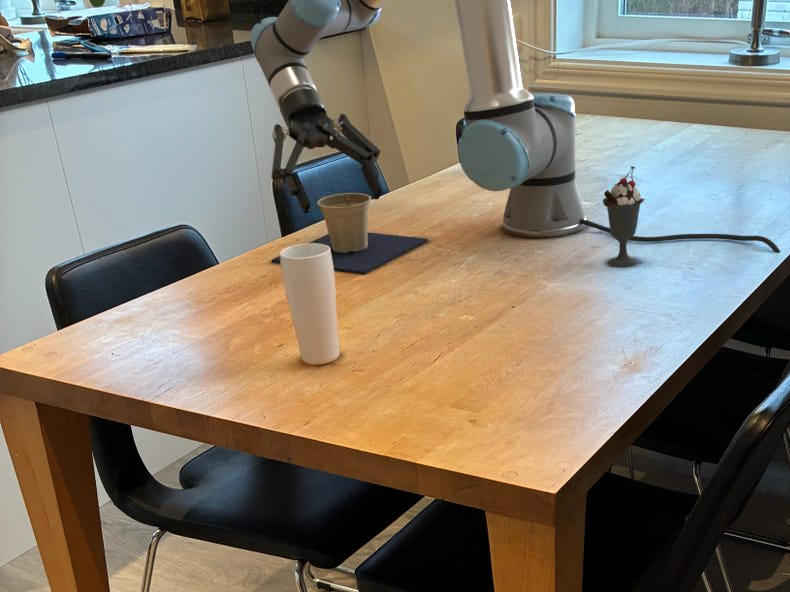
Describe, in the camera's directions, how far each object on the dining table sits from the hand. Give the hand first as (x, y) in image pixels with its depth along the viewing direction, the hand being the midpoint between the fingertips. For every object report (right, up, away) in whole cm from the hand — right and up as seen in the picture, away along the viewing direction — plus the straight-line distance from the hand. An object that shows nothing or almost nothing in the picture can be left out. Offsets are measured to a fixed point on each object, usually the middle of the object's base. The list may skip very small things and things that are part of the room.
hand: (343, 202), depth 182 cm
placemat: (+1, -8, +4) cm, 9 cm away
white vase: (+2, -34, -39) cm, 52 cm away
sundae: (+47, -13, -10) cm, 50 cm away
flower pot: (+1, -7, +4) cm, 8 cm away
